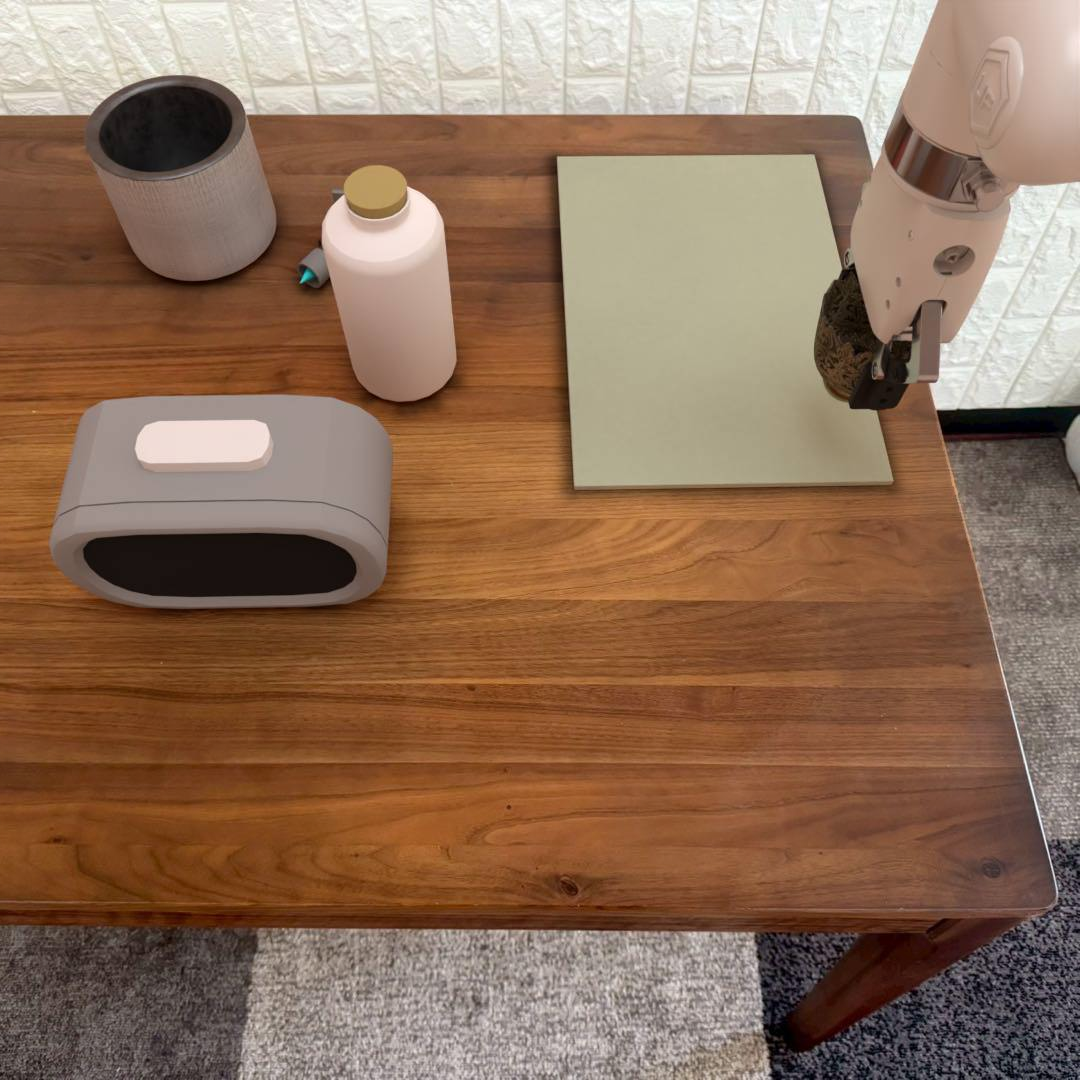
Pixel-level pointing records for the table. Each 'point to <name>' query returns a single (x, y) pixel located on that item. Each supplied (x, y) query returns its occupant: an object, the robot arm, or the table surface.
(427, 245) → the potion bottle
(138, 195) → the planter
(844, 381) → the brown jagged-rimmed vessel
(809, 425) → the mat
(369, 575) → the alarm clock
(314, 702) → the table surface
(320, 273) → the toy gun
